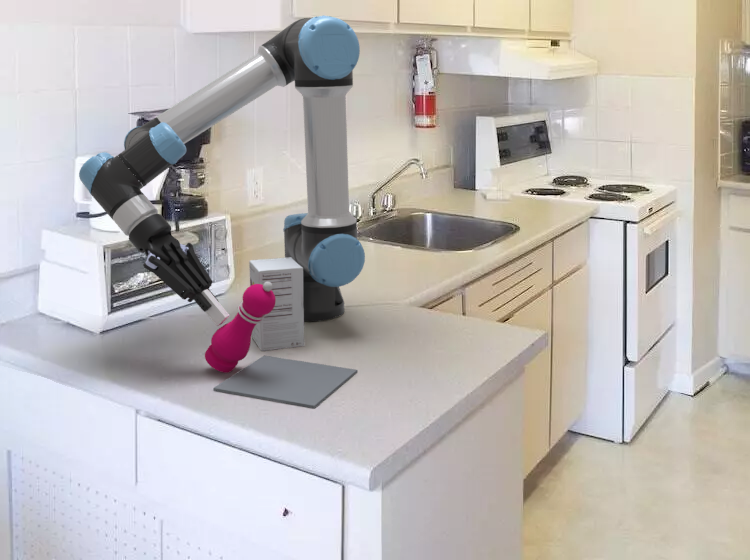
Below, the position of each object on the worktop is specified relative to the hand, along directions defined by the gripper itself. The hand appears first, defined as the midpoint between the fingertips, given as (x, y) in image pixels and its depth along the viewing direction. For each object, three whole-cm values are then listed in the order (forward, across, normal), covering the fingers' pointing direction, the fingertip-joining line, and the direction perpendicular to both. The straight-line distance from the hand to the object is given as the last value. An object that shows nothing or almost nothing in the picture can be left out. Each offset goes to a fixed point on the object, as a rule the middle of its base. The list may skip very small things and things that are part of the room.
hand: (223, 320), depth 156 cm
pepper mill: (+5, 0, -7) cm, 9 cm away
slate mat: (+16, 0, +2) cm, 16 cm away
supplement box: (+8, -19, -7) cm, 21 cm away
